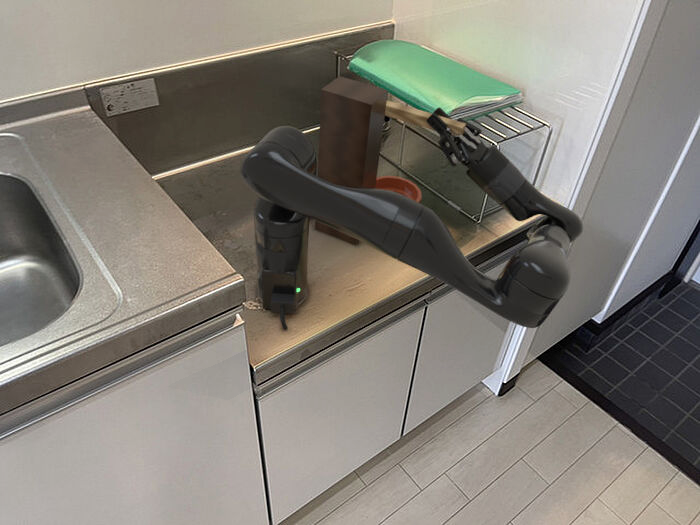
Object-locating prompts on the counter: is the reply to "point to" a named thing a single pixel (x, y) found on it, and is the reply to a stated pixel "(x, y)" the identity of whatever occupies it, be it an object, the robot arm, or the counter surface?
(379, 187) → the bowl
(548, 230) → the robot arm
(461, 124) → the stick
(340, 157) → the stand
